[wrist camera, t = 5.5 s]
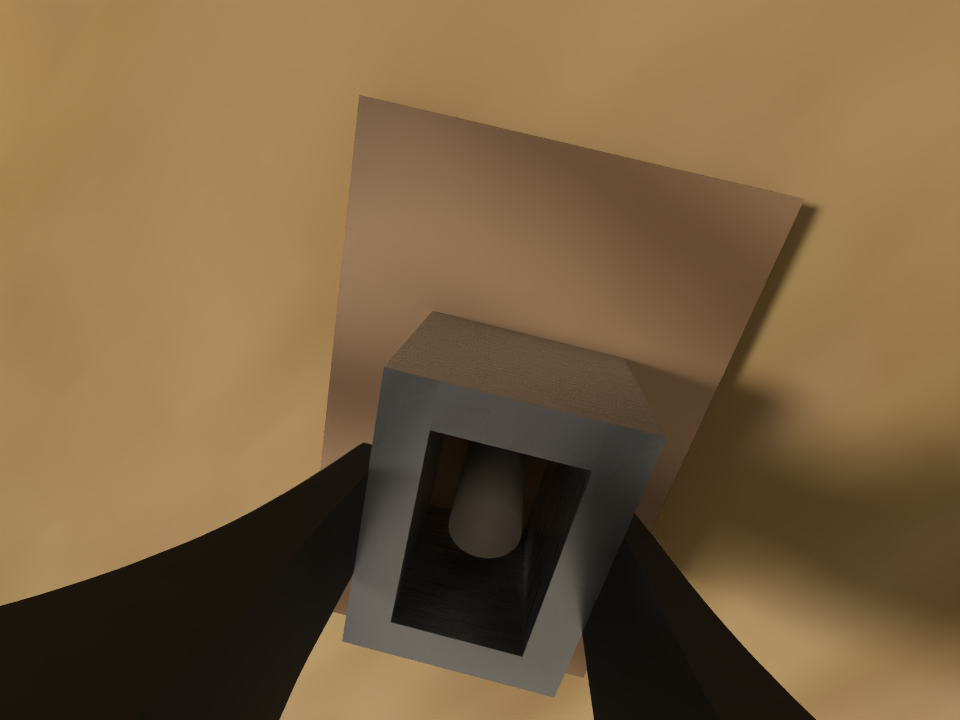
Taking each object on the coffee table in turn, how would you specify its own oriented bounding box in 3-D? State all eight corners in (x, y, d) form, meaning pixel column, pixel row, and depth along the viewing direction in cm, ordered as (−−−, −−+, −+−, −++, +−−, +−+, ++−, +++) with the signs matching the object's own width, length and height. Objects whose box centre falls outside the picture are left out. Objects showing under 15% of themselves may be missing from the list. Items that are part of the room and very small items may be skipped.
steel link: (548, 562, 14) (554, 697, 10) (393, 522, 14) (342, 641, 10) (622, 357, 11) (667, 437, 8) (432, 310, 11) (383, 366, 8)
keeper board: (580, 655, 16) (595, 793, 12) (316, 585, 16) (253, 701, 13) (784, 198, 10) (928, 200, 7) (371, 102, 11) (284, 51, 7)
